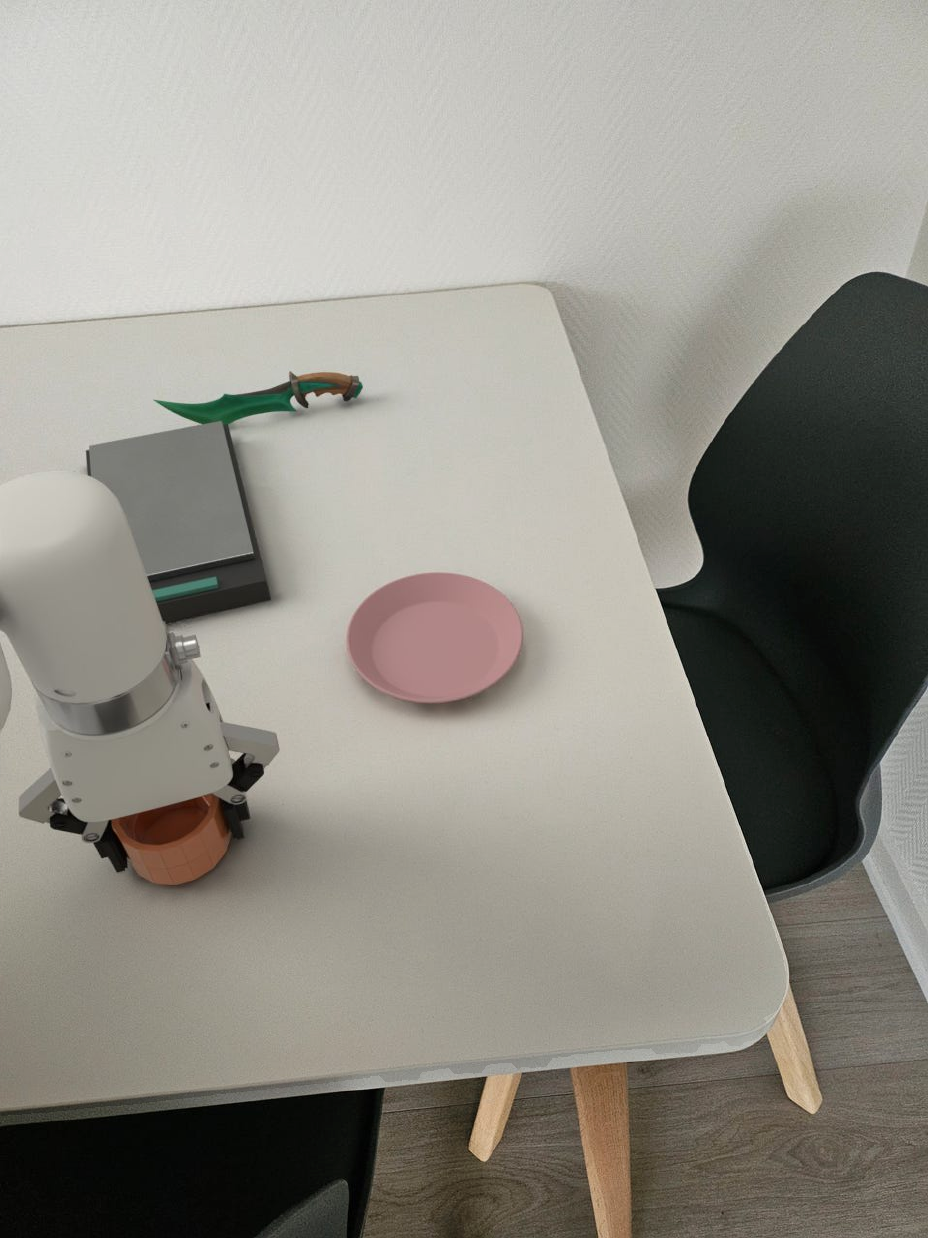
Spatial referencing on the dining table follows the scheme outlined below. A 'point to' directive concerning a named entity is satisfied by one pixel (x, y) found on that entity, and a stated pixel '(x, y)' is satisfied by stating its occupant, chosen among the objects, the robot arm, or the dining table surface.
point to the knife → (268, 398)
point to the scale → (186, 517)
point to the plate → (434, 637)
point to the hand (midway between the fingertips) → (179, 837)
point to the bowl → (175, 839)
